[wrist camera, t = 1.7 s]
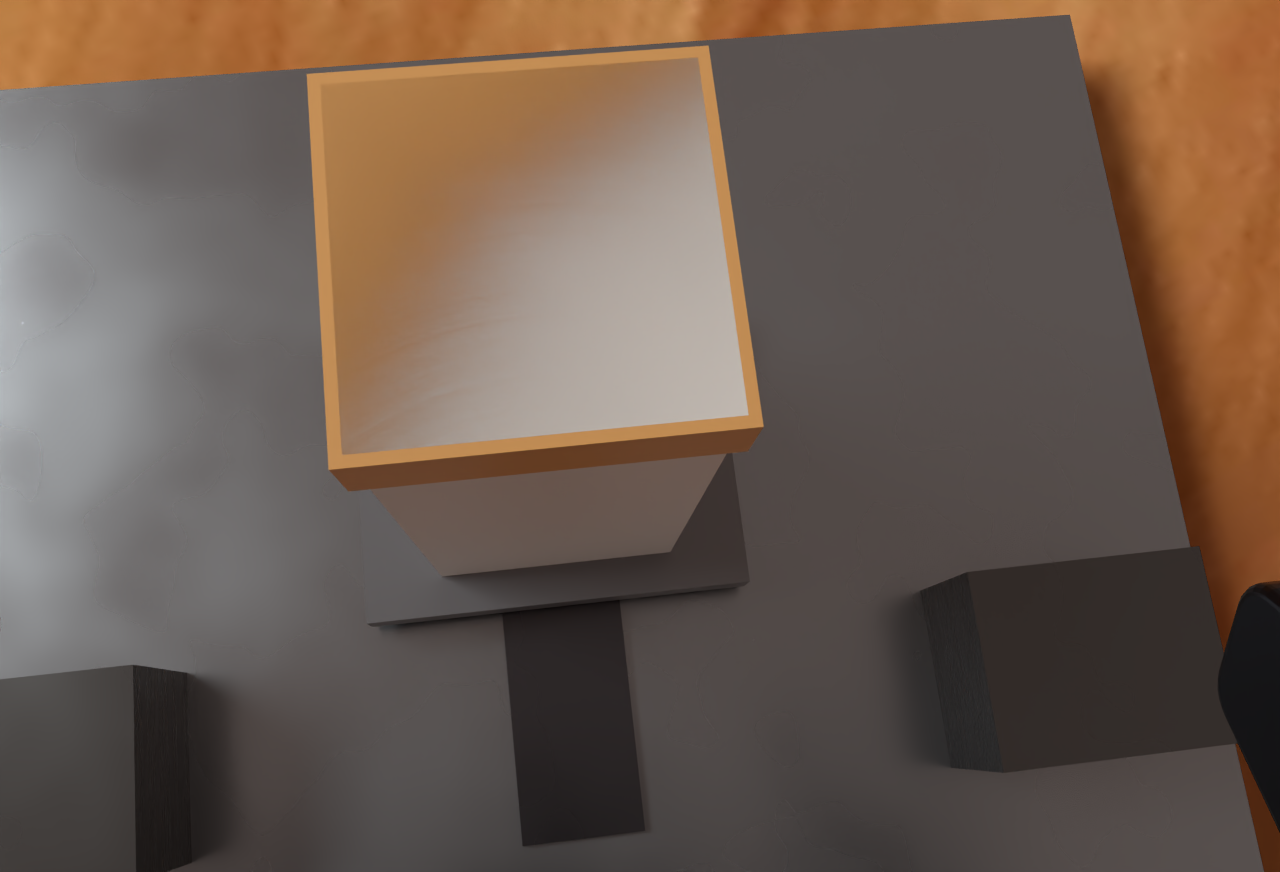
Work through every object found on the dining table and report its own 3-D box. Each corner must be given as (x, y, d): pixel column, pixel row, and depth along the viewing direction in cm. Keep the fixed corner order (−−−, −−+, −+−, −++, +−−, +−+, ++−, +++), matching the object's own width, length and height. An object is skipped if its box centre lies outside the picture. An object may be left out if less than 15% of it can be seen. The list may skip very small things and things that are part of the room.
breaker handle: (744, 586, 16) (890, 465, 9) (373, 627, 16) (202, 537, 8) (707, 309, 17) (810, -6, 10) (354, 340, 17) (189, 37, 9)
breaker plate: (1218, 998, 17) (1405, 1074, 13) (-61, 1183, 16) (-266, 1330, 12) (1023, 81, 21) (1126, -67, 17) (-40, 161, 19) (-192, 18, 15)
